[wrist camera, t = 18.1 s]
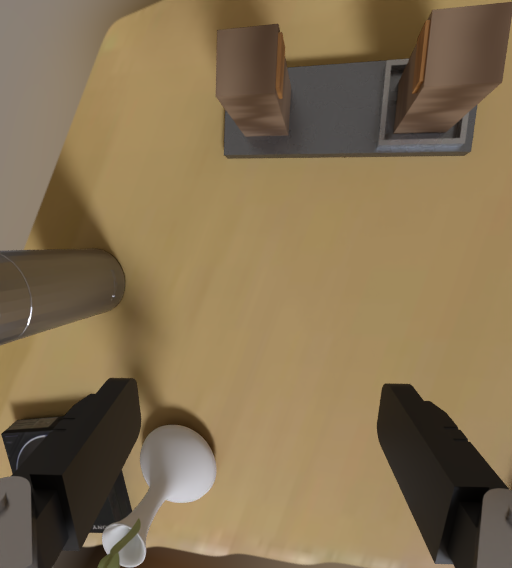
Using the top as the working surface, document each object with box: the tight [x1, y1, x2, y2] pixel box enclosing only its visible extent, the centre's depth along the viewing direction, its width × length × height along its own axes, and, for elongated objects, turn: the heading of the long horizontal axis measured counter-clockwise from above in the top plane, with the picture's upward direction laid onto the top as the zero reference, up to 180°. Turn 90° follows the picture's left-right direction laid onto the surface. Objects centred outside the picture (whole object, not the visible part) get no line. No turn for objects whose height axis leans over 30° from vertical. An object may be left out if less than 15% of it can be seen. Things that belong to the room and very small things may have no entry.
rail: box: [224, 59, 477, 159], centre depth 33 cm, size 26×9×2 cm, turn 87°
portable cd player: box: [1, 416, 132, 533], centre depth 48 cm, size 16×17×4 cm
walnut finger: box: [393, 2, 512, 134], centre depth 26 cm, size 5×5×10 cm
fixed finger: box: [216, 24, 291, 137], centre depth 29 cm, size 5×5×10 cm
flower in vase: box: [98, 425, 216, 568], centre depth 32 cm, size 13×11×25 cm
